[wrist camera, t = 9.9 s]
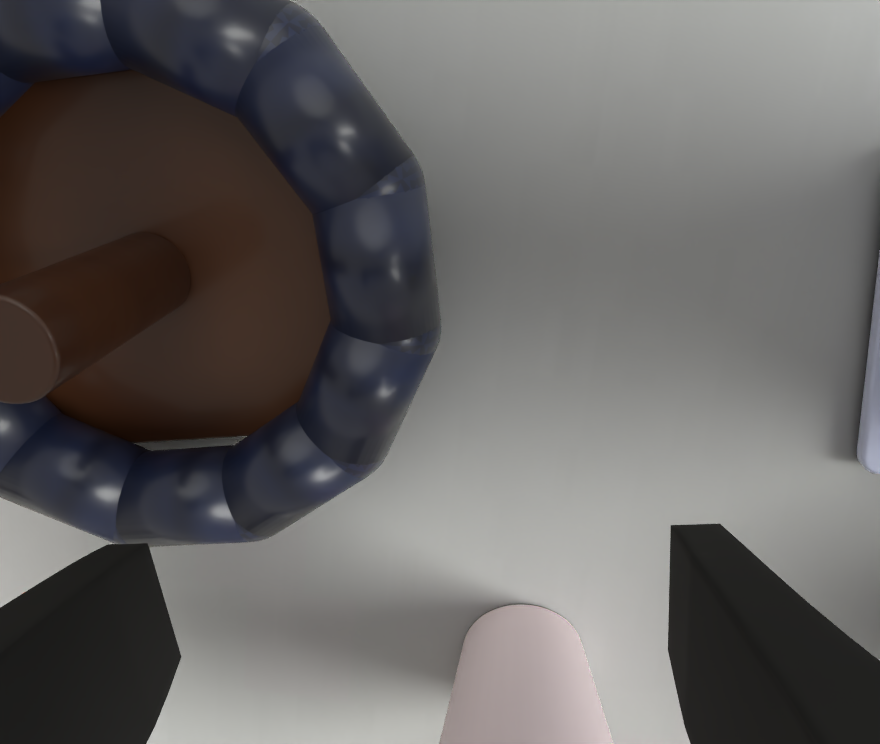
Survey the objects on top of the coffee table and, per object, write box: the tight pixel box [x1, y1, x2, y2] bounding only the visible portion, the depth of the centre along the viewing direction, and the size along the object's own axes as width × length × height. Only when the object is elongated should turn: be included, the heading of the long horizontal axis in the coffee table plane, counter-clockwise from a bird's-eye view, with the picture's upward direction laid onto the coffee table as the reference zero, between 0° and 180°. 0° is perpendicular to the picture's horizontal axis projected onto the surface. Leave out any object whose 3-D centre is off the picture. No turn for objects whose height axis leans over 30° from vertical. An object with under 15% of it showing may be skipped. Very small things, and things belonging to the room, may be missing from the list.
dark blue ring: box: [0, 0, 441, 547], centre depth 16 cm, size 13×13×2 cm
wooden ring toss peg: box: [0, 70, 331, 443], centre depth 15 cm, size 9×9×7 cm
